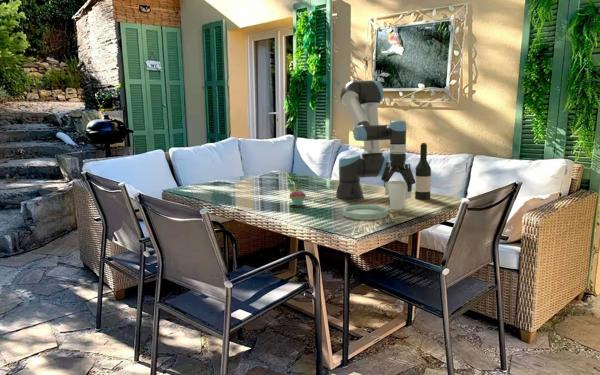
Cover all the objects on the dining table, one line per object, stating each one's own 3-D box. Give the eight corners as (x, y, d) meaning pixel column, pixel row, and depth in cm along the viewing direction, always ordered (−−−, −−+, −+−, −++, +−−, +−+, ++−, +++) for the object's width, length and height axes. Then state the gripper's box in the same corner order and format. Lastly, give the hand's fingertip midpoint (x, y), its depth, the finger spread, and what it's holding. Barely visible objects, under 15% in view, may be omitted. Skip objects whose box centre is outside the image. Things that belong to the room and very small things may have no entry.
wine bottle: (427, 200, 238) (429, 143, 233) (412, 199, 243) (413, 143, 238) (432, 197, 245) (433, 142, 240) (417, 196, 250) (418, 142, 245)
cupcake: (294, 206, 231) (293, 183, 229) (286, 203, 238) (286, 181, 236) (308, 204, 234) (308, 182, 232) (301, 202, 242) (300, 180, 240)
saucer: (335, 217, 206) (335, 211, 206) (353, 208, 223) (353, 203, 223) (377, 221, 196) (377, 216, 195) (393, 212, 213) (393, 207, 212)
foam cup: (407, 210, 215) (407, 184, 213) (387, 210, 217) (387, 183, 215) (406, 206, 224) (406, 180, 222) (387, 206, 226) (387, 180, 224)
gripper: (374, 152, 224) (374, 194, 228) (412, 154, 204) (411, 200, 207) (385, 151, 228) (384, 192, 232) (423, 153, 208) (422, 198, 211)
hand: (397, 196), depth 219 cm, fingers open, 13 cm apart
